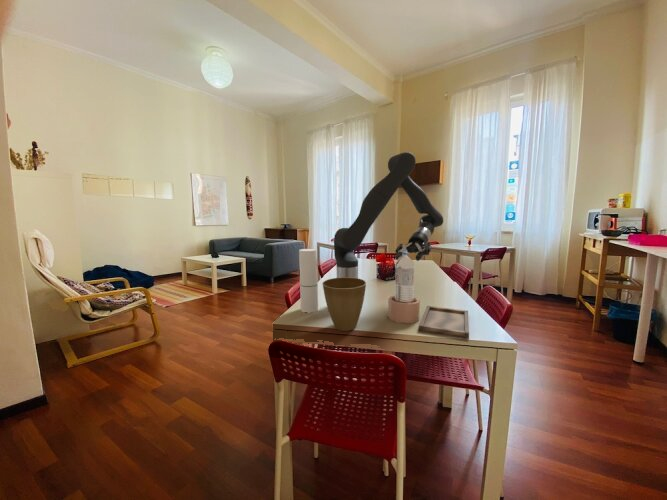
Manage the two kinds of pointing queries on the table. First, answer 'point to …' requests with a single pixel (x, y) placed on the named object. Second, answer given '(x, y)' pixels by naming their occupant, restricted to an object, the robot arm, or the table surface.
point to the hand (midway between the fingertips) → (406, 259)
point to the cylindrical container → (308, 280)
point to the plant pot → (344, 301)
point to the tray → (445, 322)
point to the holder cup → (403, 310)
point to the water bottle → (404, 279)
